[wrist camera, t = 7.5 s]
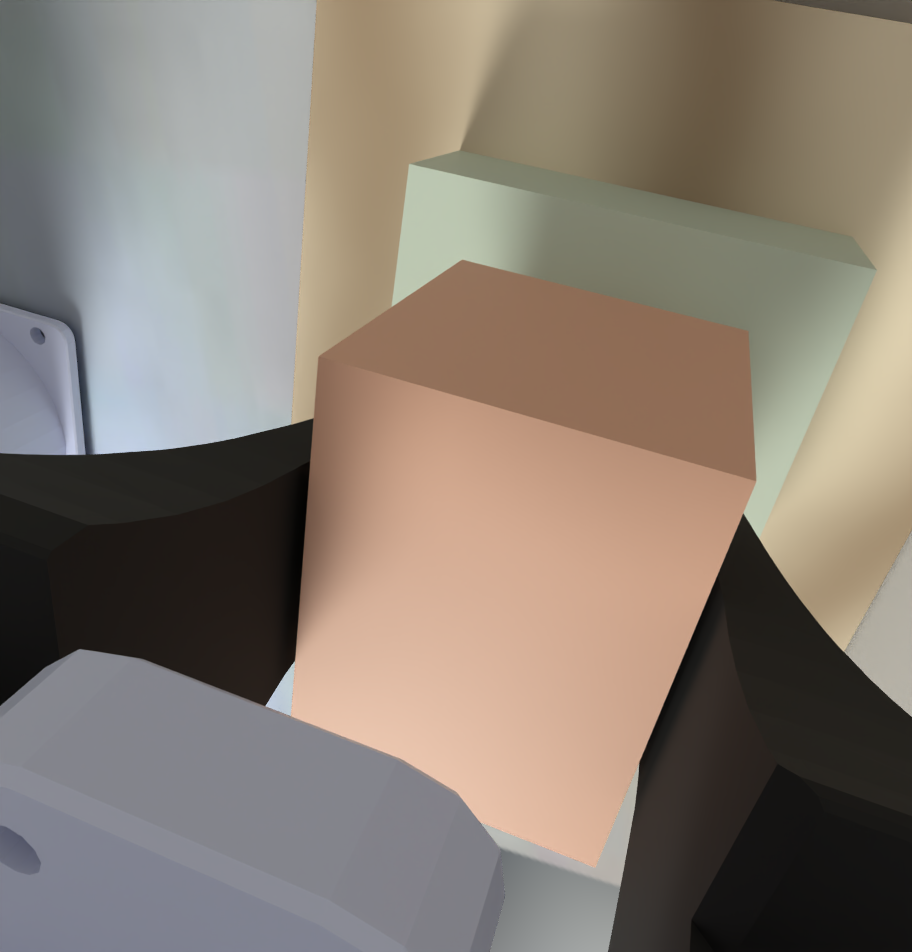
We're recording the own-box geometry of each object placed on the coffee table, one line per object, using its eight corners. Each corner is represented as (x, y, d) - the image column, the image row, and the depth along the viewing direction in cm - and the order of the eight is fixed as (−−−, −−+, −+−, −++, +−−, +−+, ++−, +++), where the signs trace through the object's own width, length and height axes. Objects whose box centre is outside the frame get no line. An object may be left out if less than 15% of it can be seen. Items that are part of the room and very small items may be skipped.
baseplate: (300, 524, 24) (284, 540, 23) (343, -68, 16) (321, -76, 15) (804, 691, 21) (807, 717, 20) (1141, 67, 13) (1169, 66, 12)
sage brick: (410, 473, 20) (363, 530, 18) (459, 150, 16) (409, 163, 14) (715, 568, 19) (712, 644, 16) (852, 236, 15) (877, 269, 12)
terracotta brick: (412, 561, 15) (288, 746, 11) (462, 259, 12) (318, 356, 8) (636, 635, 14) (595, 867, 10) (748, 330, 11) (756, 481, 7)
